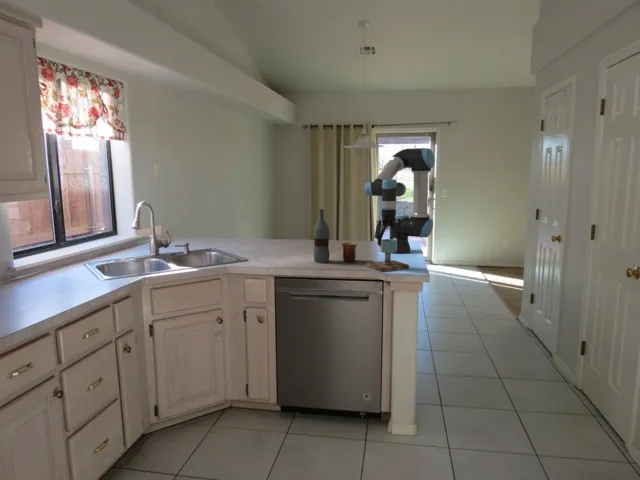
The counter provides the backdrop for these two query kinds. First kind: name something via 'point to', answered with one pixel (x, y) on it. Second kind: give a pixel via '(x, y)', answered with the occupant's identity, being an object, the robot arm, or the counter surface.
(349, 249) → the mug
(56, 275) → the counter surface
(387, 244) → the ring
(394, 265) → the post block
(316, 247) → the bottle
